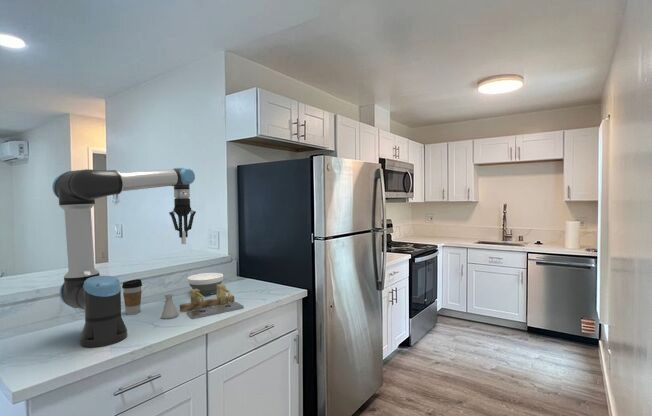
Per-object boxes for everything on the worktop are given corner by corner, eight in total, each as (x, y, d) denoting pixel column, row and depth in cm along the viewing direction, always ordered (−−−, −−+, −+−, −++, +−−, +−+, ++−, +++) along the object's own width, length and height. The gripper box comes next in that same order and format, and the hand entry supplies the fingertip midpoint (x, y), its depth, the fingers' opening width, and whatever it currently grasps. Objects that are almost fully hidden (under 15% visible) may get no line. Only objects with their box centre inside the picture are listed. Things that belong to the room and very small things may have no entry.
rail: (187, 317, 159) (186, 297, 158) (179, 310, 170) (178, 291, 170) (242, 306, 174) (241, 287, 174) (231, 300, 185) (230, 283, 185)
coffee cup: (145, 311, 169) (144, 280, 168) (126, 316, 162) (125, 283, 162) (139, 308, 174) (138, 278, 174) (120, 312, 168) (119, 281, 168)
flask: (171, 319, 156) (170, 297, 156) (157, 319, 157) (156, 296, 157) (181, 314, 163) (180, 293, 163) (167, 314, 164) (166, 292, 164)
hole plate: (192, 319, 156) (192, 316, 156) (186, 314, 163) (186, 311, 163) (243, 308, 170) (243, 305, 170) (236, 304, 177) (236, 301, 177)
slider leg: (226, 308, 169) (226, 289, 169) (216, 302, 181) (216, 284, 181) (232, 306, 171) (232, 288, 171) (222, 300, 182) (222, 283, 182)
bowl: (210, 287, 216) (209, 271, 216) (231, 291, 205) (230, 274, 205) (180, 294, 201) (180, 277, 200) (201, 299, 189) (201, 281, 189)
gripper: (170, 198, 175) (172, 245, 175) (197, 197, 183) (198, 243, 183) (166, 198, 181) (168, 244, 181) (193, 198, 189) (194, 242, 189)
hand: (183, 243), depth 182 cm, fingers closed
